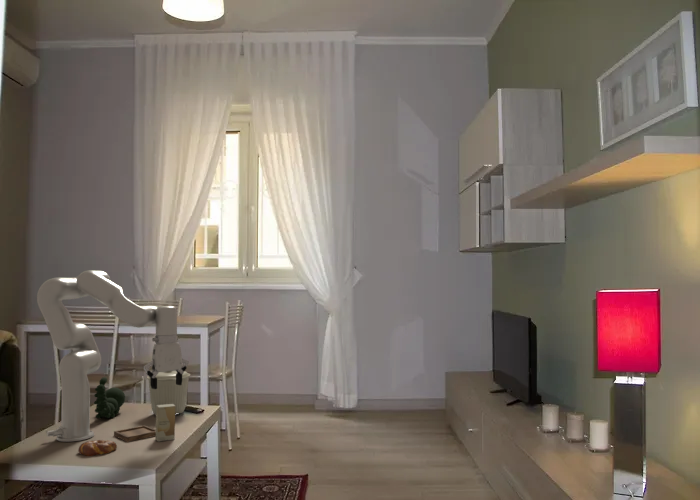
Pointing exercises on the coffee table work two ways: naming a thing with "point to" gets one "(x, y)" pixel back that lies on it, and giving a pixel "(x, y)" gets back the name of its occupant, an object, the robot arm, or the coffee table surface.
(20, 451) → the coffee table surface
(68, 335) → the robot arm
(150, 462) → the coffee table surface
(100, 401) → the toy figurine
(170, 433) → the skincare box
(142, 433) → the wooden tray
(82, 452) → the pretzel
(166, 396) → the canister
